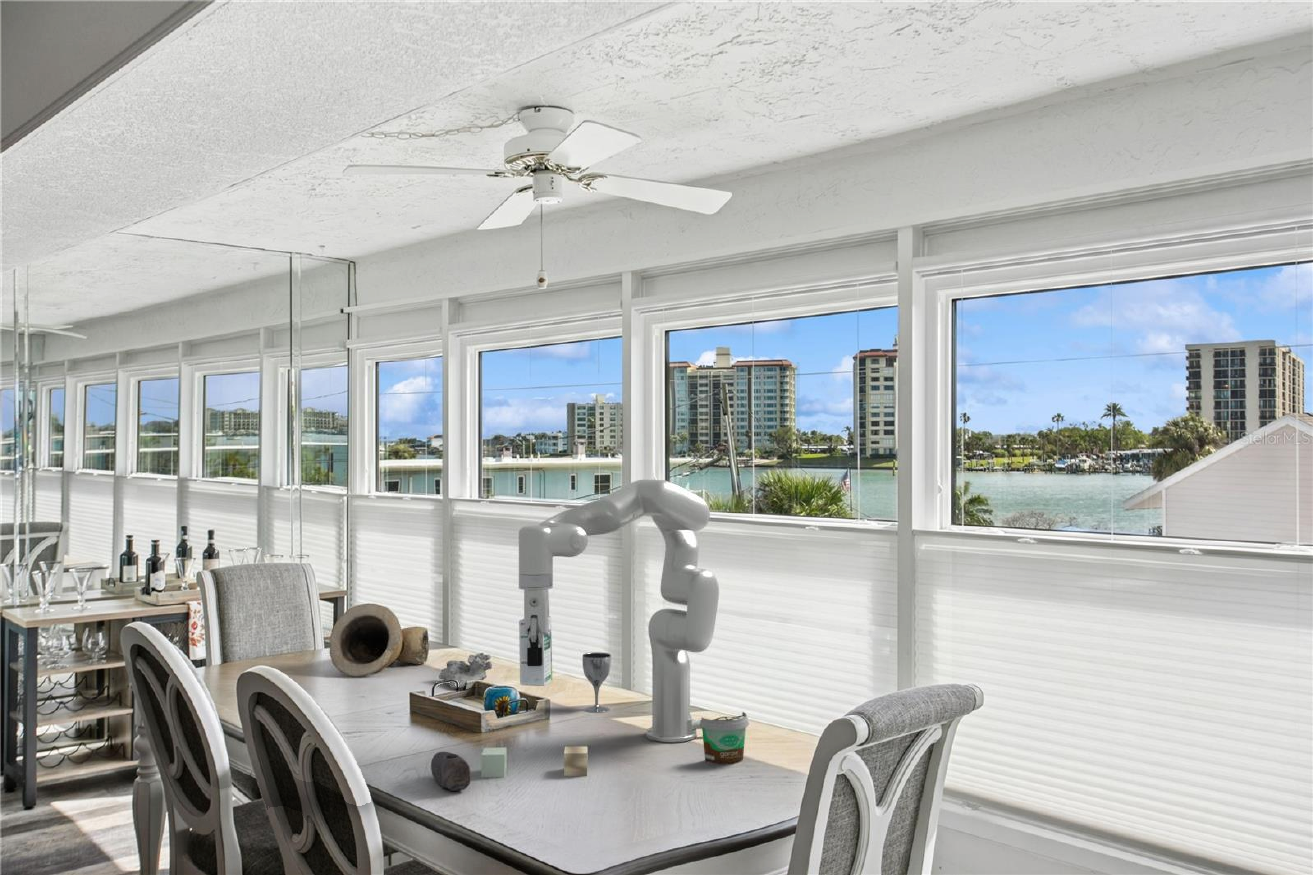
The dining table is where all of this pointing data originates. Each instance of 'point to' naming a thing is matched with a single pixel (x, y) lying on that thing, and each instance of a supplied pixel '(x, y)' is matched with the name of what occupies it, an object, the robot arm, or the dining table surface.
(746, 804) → the dining table surface
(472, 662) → the coral
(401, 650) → the footed stone vessel
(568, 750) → the birch cube
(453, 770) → the perforated stone tool
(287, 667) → the dining table surface
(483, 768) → the sage cube
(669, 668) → the robot arm
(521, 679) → the syrup box
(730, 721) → the food container
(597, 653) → the wine glass
